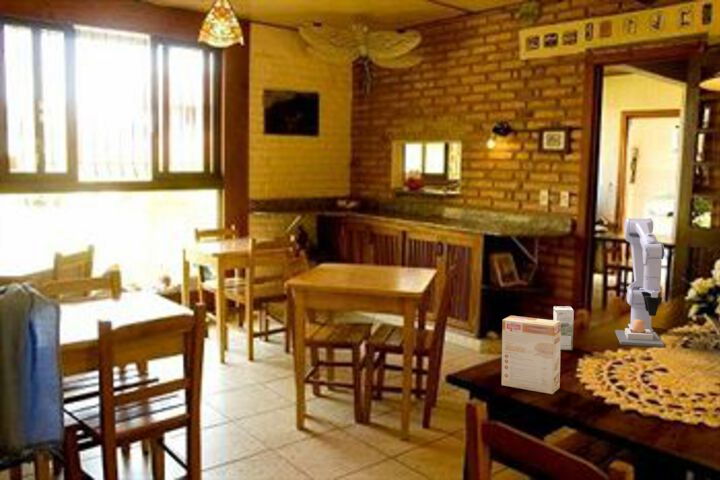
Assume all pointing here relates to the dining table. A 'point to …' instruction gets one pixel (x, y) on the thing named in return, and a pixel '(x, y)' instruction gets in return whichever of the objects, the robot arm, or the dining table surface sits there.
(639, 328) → the peach rounded egg part
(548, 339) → the coffeecake box
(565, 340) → the syrup box
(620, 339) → the dock board
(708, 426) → the dining table surface
